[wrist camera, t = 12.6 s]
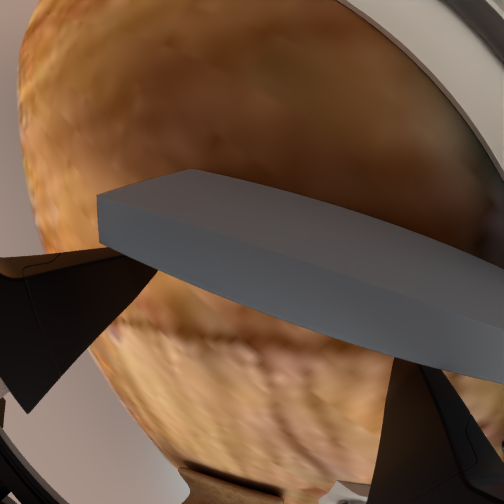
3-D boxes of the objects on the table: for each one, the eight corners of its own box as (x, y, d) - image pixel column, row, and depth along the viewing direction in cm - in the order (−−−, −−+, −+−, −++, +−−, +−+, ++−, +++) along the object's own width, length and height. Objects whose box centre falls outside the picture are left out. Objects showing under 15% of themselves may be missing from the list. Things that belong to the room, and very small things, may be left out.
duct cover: (541, 287, 7) (591, 362, 2) (526, 315, 7) (565, 395, 3) (193, 168, 11) (94, 195, 7) (190, 201, 12) (97, 243, 7)
